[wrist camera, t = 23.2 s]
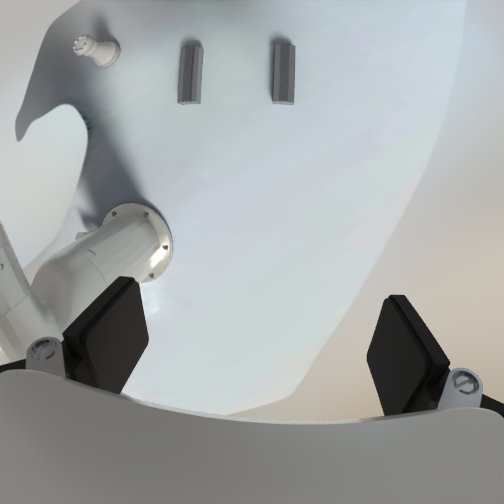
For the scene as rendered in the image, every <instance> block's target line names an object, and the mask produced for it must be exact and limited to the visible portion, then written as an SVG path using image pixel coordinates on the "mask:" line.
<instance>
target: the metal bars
mask: <svg viewBox="0 0 504 504" xmlns="http://www.w3.org/2000/svg"><path fill="white" fill-rule="evenodd" d="M202 64H203V49H202V48H201V47H200V46H186V47H185V48H181V56H180V68H179V83H178V100H177V103H180V104H182V105H184V104H200V98H201V80H202ZM294 86H295V46H294V45H289V44H281V45H278V44H275V64H274V93H273V104H286V105H293V104H294Z"/></svg>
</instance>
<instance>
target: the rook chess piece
mask: <svg viewBox="0 0 504 504" xmlns="http://www.w3.org/2000/svg"><path fill="white" fill-rule="evenodd" d="M74 43H75V46H72V49H74V52H75V54H76V55H78V56H80V55H84V56H89V57H91V58H92V59H93V62H94V63H95V65H97V66H99V67H101V68H104V67H108V66H110V65H112V64H113V63H114V62H115V61H116V60H117V58H118V56H119V53H120V48H119V46H118V44H117V43H114V42H111V41H106V42H102V43H101V42H97V40H96V39H93V38H92V36H91V35H83V36H79V37H78V40H75V41H74Z"/></svg>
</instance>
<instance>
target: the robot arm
mask: <svg viewBox="0 0 504 504" xmlns="http://www.w3.org/2000/svg"><path fill="white" fill-rule="evenodd" d="M147 212H148V213H149V215H148V213H147ZM167 246H168V247H167ZM172 253H173V243H172V238H171V234H170V231H169V229H168V227H167V225H166V224H165V222H164V220H163V219H162V218H161V217H160V216H159V214H157V213H156V212H155V211H154V210H153V209H151V208H149V207H147V206H145V205H142V204H139V203H125V204H122V205H119V206H117V207H115V208H113V209H112V210H111V211H110V212H109V213H108V214H107V215H106V217H105V218H104V220H103V222H102V225H101V227H99V228H98V229H96V230H94V231H92V232H91V233H86V232H79V233H77V235H76V241H75V242H73V243H72V244H70V245H68V246H67V247H65V248H63V249H62V250H60V251H58V252H57V253H55V254H54V255H52V256H51V257H49V258H48V259H47V260H46V261H45V262H44V263H43V264H42V265H41V266H40V268H39V269H38V271H37V273H36V275H35V277H34V279H33V282H32V284H31V287H30V285H29V283H28V281H27V279H26V277H25V275H24V272H23V270H22V268H21V266H20V264H19V262H18V259H17V257H16V255H15V252H14V250H13V248H12V245H11V243H10V241H9V238H8V236H7V233H6V231H5V229H4V227H3V225H2V223H1V221H0V504H504V404H503V403H501V402H499V401H496V400H494V399H492V398H490V397H488V396H486V395H484V394H482V391H483V384H482V382H481V380H480V378H479V377H478V375H476V374H475V373H474V372H473V371H471V370H469V369H465V368H456V369H453V370H452V371H450V369H449V365H450V361H449V359H448V358H447V356H446V355H445V353H444V351H443V350H442V348H441V347H440V345H439V344H438V342H437V341H436V339H435V338H434V336H433V335H432V333H431V332H430V330H429V329H428V327H427V326H426V324H425V323H424V321H423V320H422V319H421V317H420V316H419V315H418V313H417V311H416V310H415V309H414V307H413V306H412V305H411V303H410V302H409V301H408V299H407V298H406V296H405V295H390V296H389V297H388V298H386V299H385V300H384V302H383V305H382V309H381V313H380V316H379V319H378V322H377V325H376V329H375V332H374V335H373V338H372V341H371V343H370V346H369V349H368V352H367V363H368V366H369V368H370V372H371V374H372V378H373V380H374V384H375V387H376V390H377V393H378V396H379V399H380V402H381V405H382V409H383V412H384V416H382V417H371V418H359V419H345V420H321V421H320V420H316V421H315V420H313V421H311V420H309V421H308V420H270V419H254V418H243V417H233V416H224V415H216V414H209V413H202V412H196V411H190V410H184V409H179V408H173V407H168V406H164V405H159V404H154V403H150V402H146V401H142V400H138V399H134V398H130V397H126V396H122V395H119V394H120V393H121V391H122V389H123V387H124V385H125V384H126V382H127V380H128V378H129V377H130V375H131V373H132V371H133V369H134V368H135V366H136V364H137V362H138V361H139V359H140V357H141V355H142V354H143V352H144V350H145V349H146V347H147V345H148V341H149V336H148V331H147V326H146V321H145V316H144V310H143V305H142V299H141V293H140V287H139V284H140V283H145V282H150V281H153V280H155V279H157V278H158V277H159V276H161V275H162V274H163V273H164V271H165V270H166V269H167V267H168V266H169V264H170V261H171V259H172Z"/></svg>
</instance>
